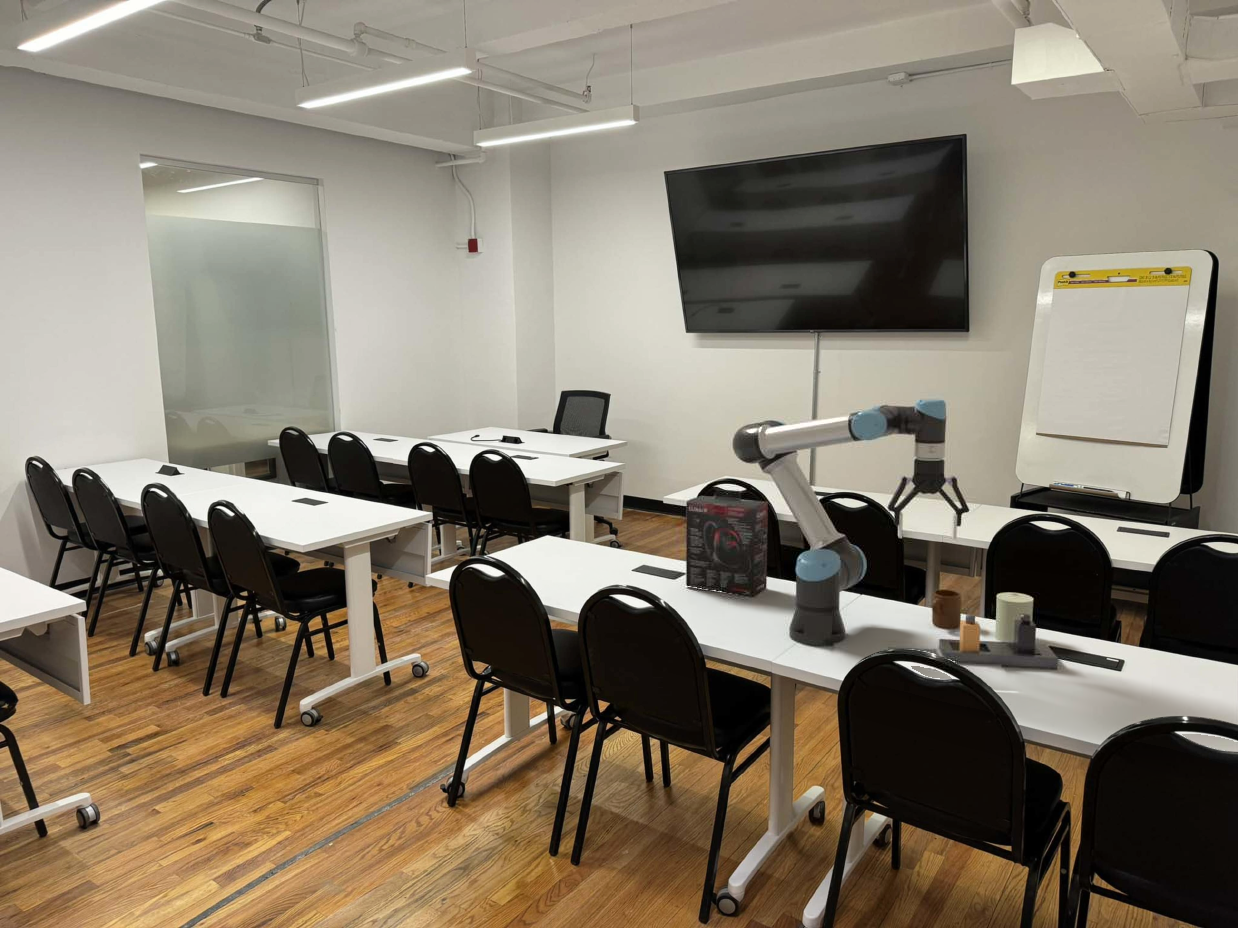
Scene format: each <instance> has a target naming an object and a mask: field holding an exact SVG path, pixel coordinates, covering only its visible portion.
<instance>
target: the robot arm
mask: <svg viewBox="0 0 1238 928" xmlns="http://www.w3.org/2000/svg"><path fill="white" fill-rule="evenodd" d="M947 418H948V417H947V403H946V401H945V400H943V399H939V398H930V399H929V398H924V399H923V398H920V399H917V400H916V402H915V405H914V406H905V405H904V406H903V405H889V404H883V405H874V406H873V407H872V408H871V409H865V410H862V411H856V412H852V413H851V412H850V413H844V414H840V415H838V414H837V415H833V416H828V417H823V418H816V419H811V420H807V421H805V420H804V421H800V422H793V423H789V424H787V423H785V422H783V421H780V420H772V419H771V420H764V421H762V422H755V423H749V424H745V425H743V426H742V427H740V428H738V430H737V431H736V432H735V433H734V435H733V439H732V450H733V453H734V454H735V456H736V457H737V458H738V459H739V460H740V461H741V462H743V463H745V464H746V463H747V464H750V465H752V464H754V465H755V464H756V465H757V464H758V466H759V468H760V470H761V471H762V474H763V473H764V474H767V475H769V476H771V478H772V480H773V482H774V484H775V486H776V487H777V489H778V490H779V492H780V495H781V496H782V497H783V499H784V501H785V503H786V505H787V506H788V508H789V510H790V512H791V514H792V515H793V517H794V519H795V521H796V523H797V525H798V526H799V528H800V529H801V531H802V533H803V536H804V537H805V539H806V541H807V542H808V544H809V546H810V549H809V550H806V551H803V552H802V553H800V554H799V556H798V557H797V559H796V566H795V573H796V575H795V576H796V578H795V583H796V584H795V610H794V613H793V617H792V619H791V622H790V626H789V633H788V634H789V637H790V639H792V640H793V641H795V642H798V643H801V644H804V645H809V646H823V647H824V646H833V645H834V644H838V643H842V642H843V641H845V639H846V633H847V631H846V627H845V623H844V620H843V619H842V615H841V612H840V592H843V591H845V590H847V589H848V588H852V587H853V586H855V585H856V584H858V583H859V582H860V581H861V580H862V579H863V578H864V577H865V574H866V572H867V567H868V566H867V559H866V556H865V554H864V552H863V551H862V549H860V548H859V547H858V546H857V545H854V544H851V543H850V541H849V540H848V538H847V536H846V535H845V534H843V533H840V532H838V531H837V529H836V528H835V526H834V524H833V522H832V520H831V519H830V518H829V516H828V514H827V512H826V511H825V509H824V506H823V505H822V503H821V502H820V500H819V498H818V496H817V494H816V493H815V491H814V489H813V487H812V486H811V484H810V482H809V481H808V479H807V477H806V475H805V473H804V472H803V470H802V468H801V467H800V464H799V463H798V461H797V459H798V455H799V452H798V451H802V450H809V449H815V448H822V447H827V446H828V447H829V446H835V445H841V444H847V443H855V442H862V441H873V440H877V439H879V438H884V437H887V436H892V435H909V436H914V452H913V453H914V454H913V456H914V457H915V458H914V461H913V475H912V477H910V476H906V475H901V477H900V482H899V485H898V487H897V489H896V491H895V492H894V494H893V496H892V497H891V499H890V501H889V503H888V505H887V510H888V511H889V512H892V513H894V515H893V517H894V518H893V522H894V525H895V526H897V536H898V539H903V524H904V523H903V522H904V521H903V520H904V519H903V517H904V515H903V514H904V513H903V512H902V510H904V509H905V508H906V507H907V505H908V504H910V502H912V500H913V499H914V498H915V497H916V496H917V495H919V493H920V494H923V495H927V494H931V495H936V494H937V493H939V494H940V495H941V497H942V498H943V499H944V500H945V502H947V504H948V505H949V507H951V509H953V511H954V512H952V515H951V516H952V517H951V539H953V540H957V532H958V527H961V525H962V515H964V514H965V513H969V512H970V508H969V506H968V505H967V503H966V500H965V499H964V496H963V494H962V492H961V490H960V488H959V485H958V479H957V477H956V476H954V475H951V476H949V477H946V476H945V460H944V458H945V456H946V452H945V451H946V431H947V430H946V429H947ZM910 483H912V484H913V487H912V489H911V490H910V491H909V492H908V494H907V495H906V496H905V497H904V498H903V499H902V500H901V501H900V502H899V503H898V501H899V500H900V499H901V496H902V495H903V493H904V490H905V489H906V487H907V486H908V485H910ZM946 483H947V484H948V485H949V486H950V487H951V488H952V490H953V492H954V494H955V497H956V499H957V501H958V503H959V505H960V506H961V507H958V505H957V504H956V503H955V502H954V501H953V499H952V498H951V497H950V496H949V495H948V493H947V492H946V491H945V490H944V489H943V486H944V485H945V484H946ZM897 503H898V504H897Z"/></svg>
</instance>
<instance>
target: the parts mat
mask: <svg viewBox="0 0 1238 928" xmlns="http://www.w3.org/2000/svg"><path fill="white" fill-rule="evenodd" d="M887 649H888V651H889V650H891V649H914V650H920V651H926V652H930V653H934V654H936V655H938V656H939V653H938V652H937V649H936V648H935V649H933V648H918V647H917V648H915V647H897V646H895V647H894V646H888V647H887Z"/></svg>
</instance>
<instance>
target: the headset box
mask: <svg viewBox="0 0 1238 928" xmlns="http://www.w3.org/2000/svg"><path fill="white" fill-rule="evenodd" d="M685 505H686V509H685V511H686V512H685V514H686V516H685V518H686V519H685V520H686V521H685V522H686V524H685V526H686V527H685V534H686V535H685V537H686V538H685V539H686V540H685V541H686V543H685V545H686V547H685V548H686V550H685V551H686V552H685V554H686V555H685V557H686V560H685V562H686V564H685V565H686V566H685V569H686V570H685V577H686V579H685V582H686V583H685V586H686V585H687V586H691V587H697V588H702V589H708V590H716V591H722V592H726V593H725V594H727V593H732V594H731V595H734V594H738V595H737V596H740V595H743V596H742V597H747V596H748V597H749V598H755V597H756V596H758V595H759V594H761V593H762V592H764V591H765V590H766V589H767V581H768V579H767V576H768V575H767V573H768V572H767V571H768V570H767V569H768V567H767V566H768V524H769V523H768V520H769V519H768V517H769V516H768V515H769V510H768V509H769V502H768V501H761V500H753V499H752V500H750V499H742V498H741V492H740V490H730V489H720V488H716V489H715V492H714V495H713V496H708V495H707V496H706V495H700V496H697V497H692V498H690V499H688V500H686V504H685ZM702 589H701V590H702ZM708 590H707V591H708ZM763 590H764V591H763Z"/></svg>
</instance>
